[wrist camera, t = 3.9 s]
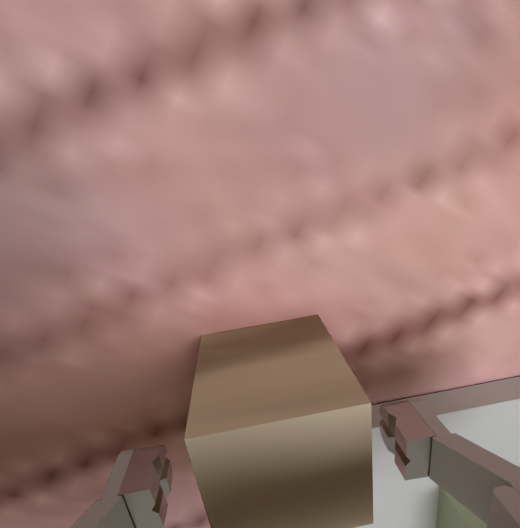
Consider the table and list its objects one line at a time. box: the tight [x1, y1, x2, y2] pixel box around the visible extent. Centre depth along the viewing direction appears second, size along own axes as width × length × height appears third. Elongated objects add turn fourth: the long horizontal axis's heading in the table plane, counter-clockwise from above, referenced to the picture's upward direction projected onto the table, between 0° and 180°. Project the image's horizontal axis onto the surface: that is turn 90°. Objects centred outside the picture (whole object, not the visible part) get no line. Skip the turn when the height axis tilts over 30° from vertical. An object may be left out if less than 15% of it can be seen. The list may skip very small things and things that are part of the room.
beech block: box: [184, 315, 373, 528], centre depth 11 cm, size 5×5×5 cm
